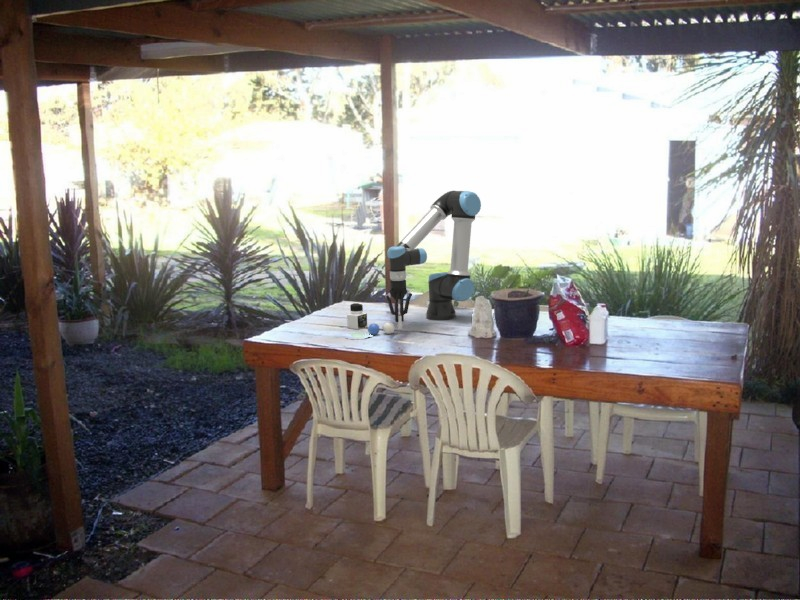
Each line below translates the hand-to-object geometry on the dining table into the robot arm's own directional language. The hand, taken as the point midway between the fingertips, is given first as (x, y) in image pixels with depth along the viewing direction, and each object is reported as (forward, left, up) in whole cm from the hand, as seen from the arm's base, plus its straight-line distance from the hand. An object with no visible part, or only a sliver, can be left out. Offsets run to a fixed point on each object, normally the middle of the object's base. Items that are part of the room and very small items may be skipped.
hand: (399, 328), depth 388 cm
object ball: (+13, 0, +1) cm, 13 cm away
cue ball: (+5, 0, +1) cm, 6 cm away
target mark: (+20, 0, -2) cm, 20 cm away
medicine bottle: (+17, -19, -2) cm, 26 cm away
